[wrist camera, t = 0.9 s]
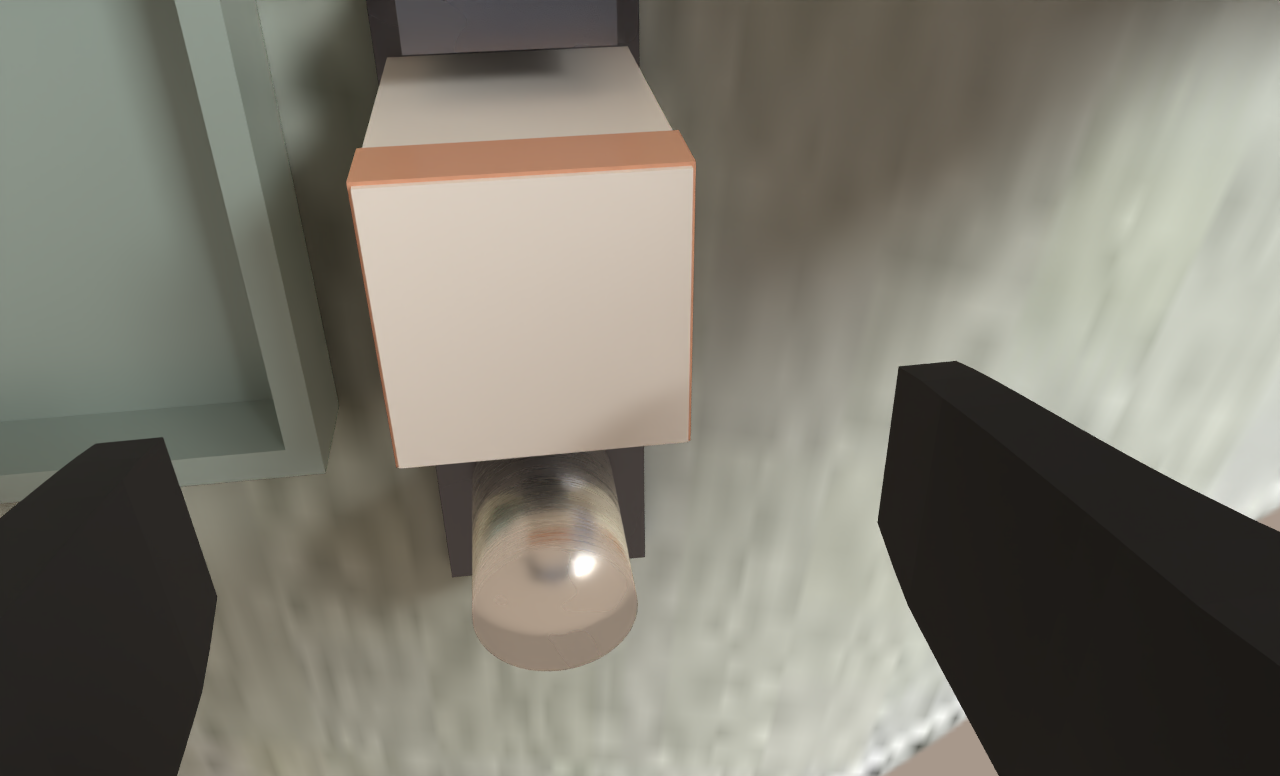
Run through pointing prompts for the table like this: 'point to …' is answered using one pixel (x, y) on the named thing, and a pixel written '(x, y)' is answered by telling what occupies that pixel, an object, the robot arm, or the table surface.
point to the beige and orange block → (526, 255)
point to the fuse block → (548, 484)
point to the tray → (152, 246)
